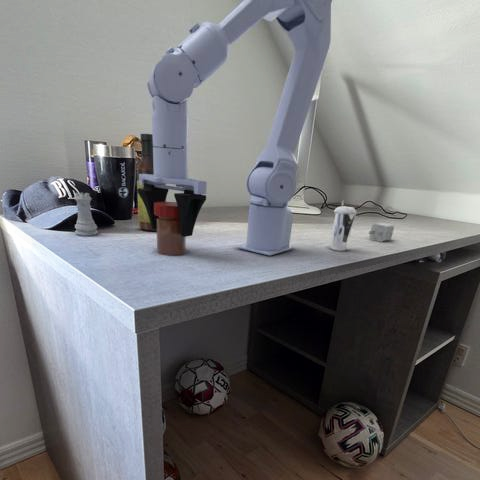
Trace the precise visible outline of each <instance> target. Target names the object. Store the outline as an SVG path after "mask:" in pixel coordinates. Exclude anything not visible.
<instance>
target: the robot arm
mask: <svg viewBox="0 0 480 480" xmlns="http://www.w3.org/2000/svg"><path fill="white" fill-rule="evenodd" d="M332 2H333V0H242V1H241V2H240V3H239V4H238V6H236V7H235V8H234V9H233V10H232V11H231V12H230V13H229V14H228V15H227V16H225V17H224V18H223V19H222V20H221V21H220V22H219V23H218V24H217V23H213V22H209V21H204V22H203V23H201V24H199V22H195V23H194V24H193V25H192V26H190V28H189V29H188V32H189V35H188V36H187V37H185V38H184V39H183V40H182V41H181V42H180V43H179V44H178V45H176V46H175V47H173V46H172V45H171V46H170V47H168V49H166V50H165V54H163V55H162V56H161V59H159V61H158V62H157V63H156V64H155V65H154V66H153V68H152V69H151V71H150V73H149V77H148V82H146V83H147V89H148V93H149V95H150V97H151V98H152V102H151V109H152V115H151V129H152V131H151V132H152V133H151V134H152V135H153V167H154V175H151V174H139V185H141V186H144V187H143V188H139V189H138V192H137V195H138V194H139V195H140V197H141V199H142V201H143V203H144V205H145V207H146V210H147V213H148V216H149V219H150V223H151V227H152V229H157V226H156V217H159V216H156V215H155V214H154V203H155V202H165V201H166V202H167V197H168V193H169V190H170V191H171V190H172V191H176V192H175V193H173V195H174V196H173V197H174V199H175V202H177V206H178V210H179V217H180V232H181V236H183V237H186V238H187V237H192V236H193V234H194V233H193V232H194V229H195V225H196V222H197V219H198V216H199V213H200V212H201V209H202V207H203V205H204V204H205V203H206V201H207V187H208V186H207V184H208V183H207V181H206V180H204V181H203V180H198V179H194V178H189V100H188V99H189V98H191V96H192V94H193V92H194V89H197V88H198V87H200V86H201V85H202V84H203V83H204V82H205V81H207V80H208V79H209V78H210V77H211V76H212V75H214V73H216V72H217V71H218V70H219V69H220V68H221V67H223V66H224V65H225V64H226V63H227V62H228V58H229V51H230V46H231V45H232V44H234V43H235V42H236V41H237V40H239V39H240V38H241V37H242V36H243V35H244V34H246V33H247V32H248V31H250V29H252V28H253V27H254V26H255V25H256V24H258V23H259V22H260V21H262V20H265V21H268V22H272V21H274V20H275V21H276V23H277V24H278V25H279V27H280V28H281V30H282V31H283V32H284V33H285V35H286V36H287V38H288V39H289V40H290V42H291V44H292V46H293V48H294V53H293V56H292V59H291V63H290V66H289V70H288V73H287V75H286V79H285V82H284V86H283V90H282V93H281V96H280V100H279V103H278V106H277V110H276V113H275V116H274V119H273V123H272V126H271V130H270V133H269V136H268V140H267V142H266V146H265V148H264V149H263V150H261V151H262V152H260V154H259V155H258V157H257V159H256V162H255V164H254V166H253V168H251V170H250V171H249V173H248V174H247V177H246V182H245V183H246V184H245V187H246V190H247V192H248V193H249V195H250V199H249V208H248V218H247V232H246V243H244V244H238V245H237V249H241V250H245V251H249V252H253V253H257V254H261V255H265V256H273V255H277V254H279V253H284V252H287V251H290V250H293V249H294V246H292V245H291V244H290V243H291V237H292V235H291V234H292V228H293V219H294V217H293V212H292V210H291V208H290V207H289V206H288V202H290V201H291V199H292V198H293V197H294V195H295V193H296V189H297V178H296V177H297V172H298V169H299V164H298V161H297V159H296V156H295V154H296V151H297V147H298V145H299V141H300V138H301V135H302V132H303V129H304V127H305V126H304V125H305V123H306V119H307V117H308V113H309V110H310V107H311V104H312V101H313V98H314V95H315V92H316V89H317V86H318V83H319V80H320V77H321V74H322V70H323V68H324V65H325V62H326V59H327V55H328V53H329V49H330V46H331V37H332V36H331V35H332V32H331V29H332ZM158 147H159V148H158ZM160 184H166V185H160ZM174 185H175V186H174ZM177 191H179V192H177Z"/></svg>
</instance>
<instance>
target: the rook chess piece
mask: <svg viewBox="0 0 480 480" xmlns="http://www.w3.org/2000/svg"><path fill="white" fill-rule="evenodd" d="M74 194H75V195H74V197H73V199H74V200H75V202H76V208H77V219H76V224H74V228H75V230H74V233H75V234H76V235H77V236H81V237H91V236H93V237H94V236H96V235H98V233H99V231H98V230H97V229H98V226H97V224H96V223H95V220H94V219H93V215H92V210H91V209H92V205H91V201H92V197H91V196H90V193H88V192H75V193H74Z"/></svg>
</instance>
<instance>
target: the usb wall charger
mask: <svg viewBox="0 0 480 480" xmlns="http://www.w3.org/2000/svg"><path fill="white" fill-rule="evenodd" d="M394 230H395V225H393V224H390V223H385V222H379V223H373V224H372V225H371V226H370V230H369V231H368V235H369V239H370V240H372V241H377V242H385V241H391V240H392V237H393V235H394Z"/></svg>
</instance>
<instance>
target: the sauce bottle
mask: <svg viewBox="0 0 480 480" xmlns="http://www.w3.org/2000/svg"><path fill="white" fill-rule="evenodd" d="M140 142H141V156H142V157H141V159H140V161H139V162H138V164H137V169H136V175H137V180H136V187H137V188H136V189H137V192H136V193H137V211H138V212H137V215H138V222H139V225H138V226H139V228H140V229H141V230H143V231H150V232H157V229H152V227H151V223H150V219H149V216H148V213H147V210H146V207H145V205H144V203H143V201H142V199H141V197H140V195H139V194H138V189H139V188H143V187H144V186H141V185H139V174H151V175H154V167H153V135H152V133H140ZM158 148H160V147H158ZM160 185H167V184H160ZM165 202H167V200H166V201H165Z"/></svg>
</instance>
